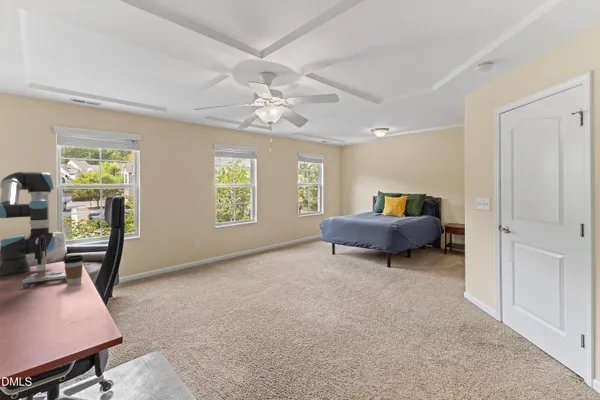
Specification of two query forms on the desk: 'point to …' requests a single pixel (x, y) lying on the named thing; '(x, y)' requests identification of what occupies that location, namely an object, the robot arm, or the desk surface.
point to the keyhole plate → (50, 276)
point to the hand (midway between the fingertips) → (41, 269)
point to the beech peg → (42, 272)
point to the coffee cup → (73, 269)
